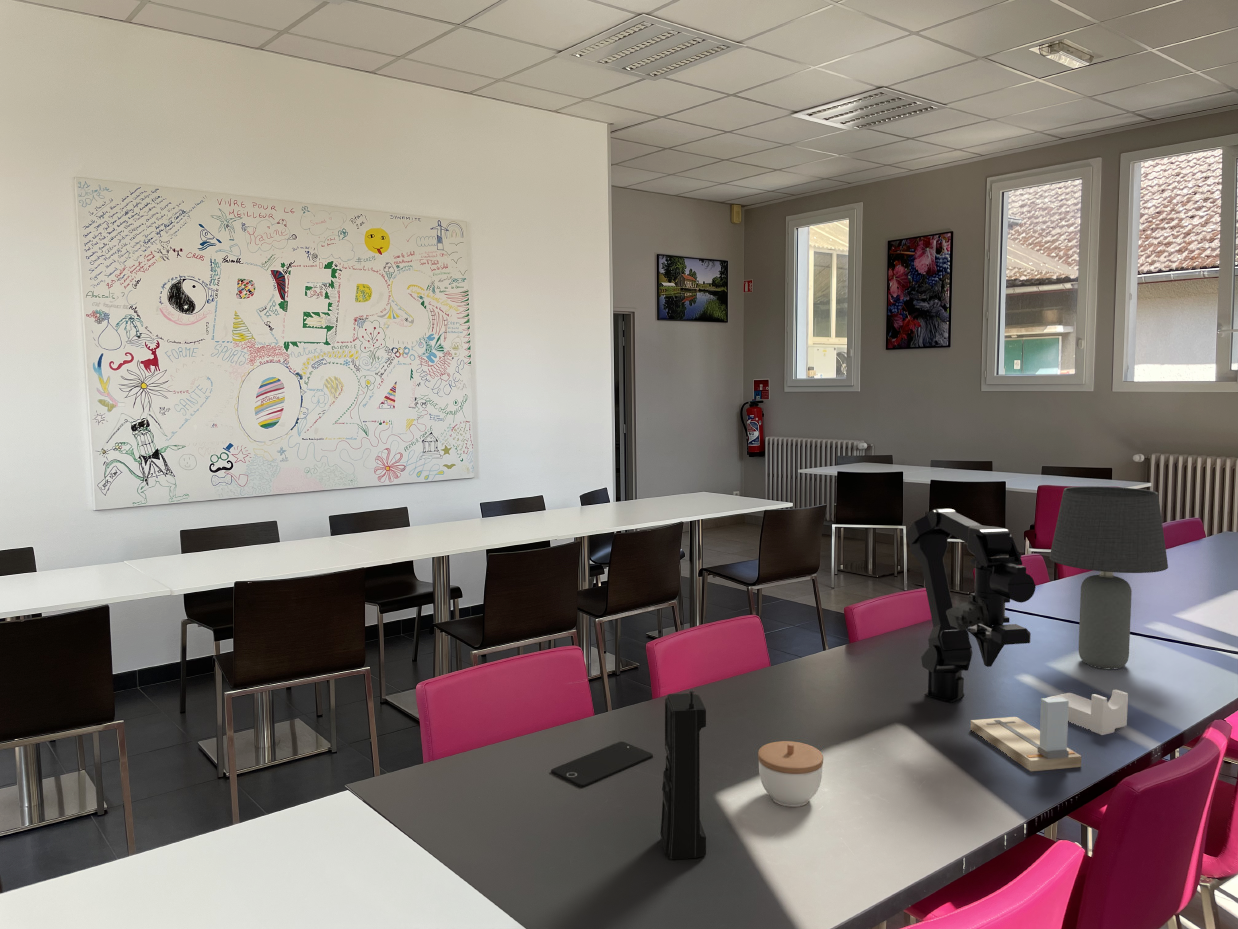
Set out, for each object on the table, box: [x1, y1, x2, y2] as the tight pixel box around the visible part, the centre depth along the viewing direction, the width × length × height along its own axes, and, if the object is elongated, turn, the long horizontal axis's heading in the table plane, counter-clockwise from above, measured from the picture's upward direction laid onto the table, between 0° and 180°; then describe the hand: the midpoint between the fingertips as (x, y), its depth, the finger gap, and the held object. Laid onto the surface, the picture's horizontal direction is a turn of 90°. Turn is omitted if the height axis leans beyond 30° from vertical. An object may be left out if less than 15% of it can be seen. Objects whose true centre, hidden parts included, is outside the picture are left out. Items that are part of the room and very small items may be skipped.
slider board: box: [970, 716, 1082, 772], centre depth 163 cm, size 19×10×2 cm, turn 9°
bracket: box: [1046, 689, 1129, 736], centre depth 176 cm, size 13×7×8 cm, turn 24°
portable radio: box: [660, 690, 707, 860], centre depth 129 cm, size 8×6×25 cm
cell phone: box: [550, 741, 654, 789], centre depth 158 cm, size 9×18×1 cm, turn 134°
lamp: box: [1049, 485, 1169, 670], centre depth 210 cm, size 25×25×43 cm
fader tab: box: [1037, 697, 1069, 759], centre depth 155 cm, size 3×4×10 cm
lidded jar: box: [757, 740, 824, 808], centre depth 144 cm, size 11×11×9 cm
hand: (987, 666), depth 174 cm, fingers closed
